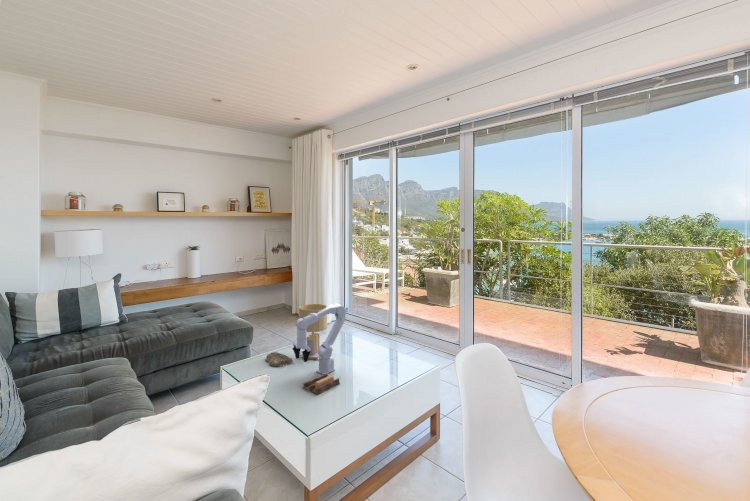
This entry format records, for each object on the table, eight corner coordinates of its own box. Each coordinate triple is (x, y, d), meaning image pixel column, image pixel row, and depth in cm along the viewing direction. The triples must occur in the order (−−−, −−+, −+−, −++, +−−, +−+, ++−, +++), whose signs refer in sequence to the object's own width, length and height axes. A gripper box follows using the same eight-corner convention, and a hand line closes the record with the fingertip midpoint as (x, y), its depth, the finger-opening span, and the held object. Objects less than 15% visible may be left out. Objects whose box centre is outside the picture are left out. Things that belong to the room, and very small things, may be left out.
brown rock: (261, 359, 243) (274, 368, 228) (261, 352, 242) (274, 361, 227) (280, 355, 252) (293, 363, 237) (280, 348, 252) (294, 356, 236)
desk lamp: (305, 349, 262) (305, 303, 259) (330, 351, 258) (330, 304, 255) (294, 359, 243) (294, 309, 240) (321, 362, 239) (321, 311, 236)
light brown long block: (330, 381, 207) (330, 375, 207) (333, 382, 206) (333, 376, 206) (315, 388, 198) (315, 381, 198) (318, 390, 197) (318, 383, 196)
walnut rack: (326, 378, 214) (326, 373, 214) (339, 383, 207) (340, 378, 206) (302, 388, 200) (302, 383, 200) (316, 395, 193) (316, 389, 193)
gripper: (289, 337, 216) (288, 358, 217) (304, 342, 207) (304, 365, 208) (298, 334, 221) (298, 355, 222) (313, 339, 212) (313, 361, 213)
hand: (301, 360), depth 215 cm, fingers open, 7 cm apart
